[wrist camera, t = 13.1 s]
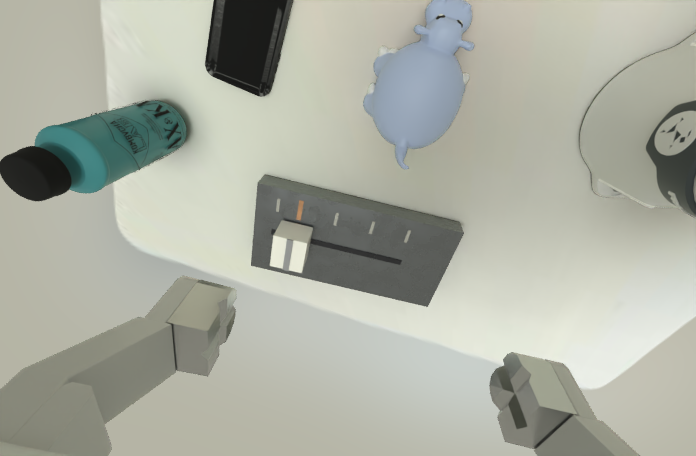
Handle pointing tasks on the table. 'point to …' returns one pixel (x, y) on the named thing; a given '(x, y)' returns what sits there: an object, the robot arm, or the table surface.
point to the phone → (247, 42)
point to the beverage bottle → (94, 150)
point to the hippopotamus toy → (421, 80)
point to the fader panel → (357, 240)
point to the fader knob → (290, 246)
